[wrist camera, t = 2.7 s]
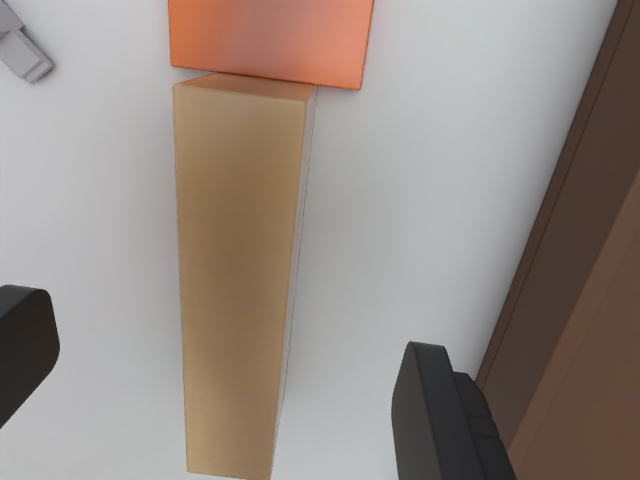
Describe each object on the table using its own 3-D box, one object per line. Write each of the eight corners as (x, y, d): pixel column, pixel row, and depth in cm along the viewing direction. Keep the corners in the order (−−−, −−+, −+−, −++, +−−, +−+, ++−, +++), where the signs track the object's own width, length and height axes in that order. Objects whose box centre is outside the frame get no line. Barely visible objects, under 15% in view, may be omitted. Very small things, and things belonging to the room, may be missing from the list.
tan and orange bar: (188, 381, 20) (149, 469, 16) (167, -288, 10) (52, -506, 6) (313, 396, 20) (306, 487, 16) (411, -254, 10) (456, -448, 6)
